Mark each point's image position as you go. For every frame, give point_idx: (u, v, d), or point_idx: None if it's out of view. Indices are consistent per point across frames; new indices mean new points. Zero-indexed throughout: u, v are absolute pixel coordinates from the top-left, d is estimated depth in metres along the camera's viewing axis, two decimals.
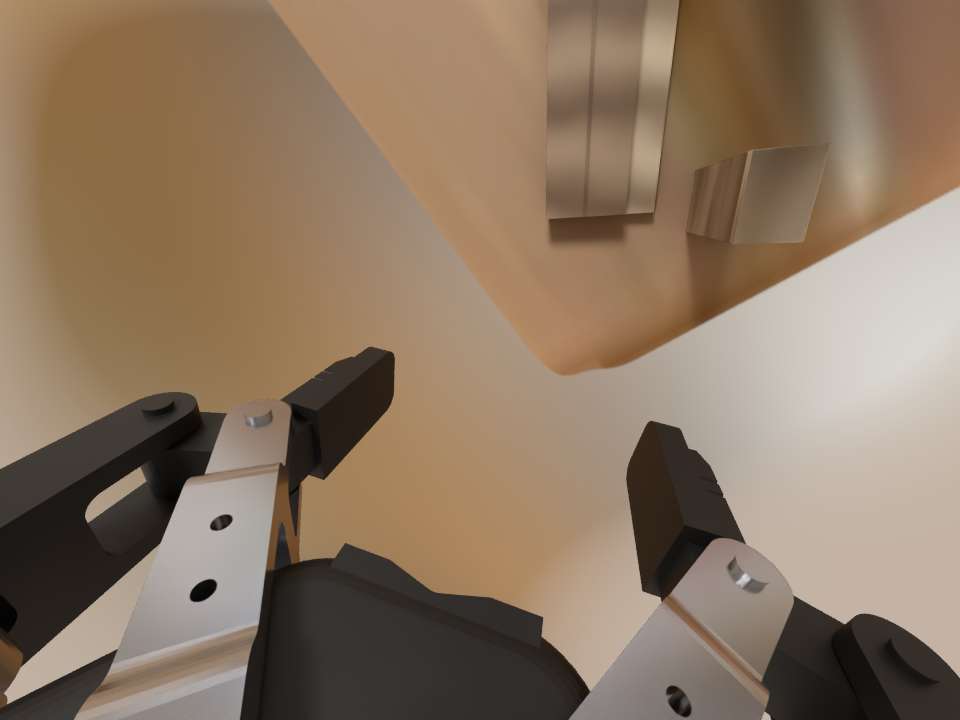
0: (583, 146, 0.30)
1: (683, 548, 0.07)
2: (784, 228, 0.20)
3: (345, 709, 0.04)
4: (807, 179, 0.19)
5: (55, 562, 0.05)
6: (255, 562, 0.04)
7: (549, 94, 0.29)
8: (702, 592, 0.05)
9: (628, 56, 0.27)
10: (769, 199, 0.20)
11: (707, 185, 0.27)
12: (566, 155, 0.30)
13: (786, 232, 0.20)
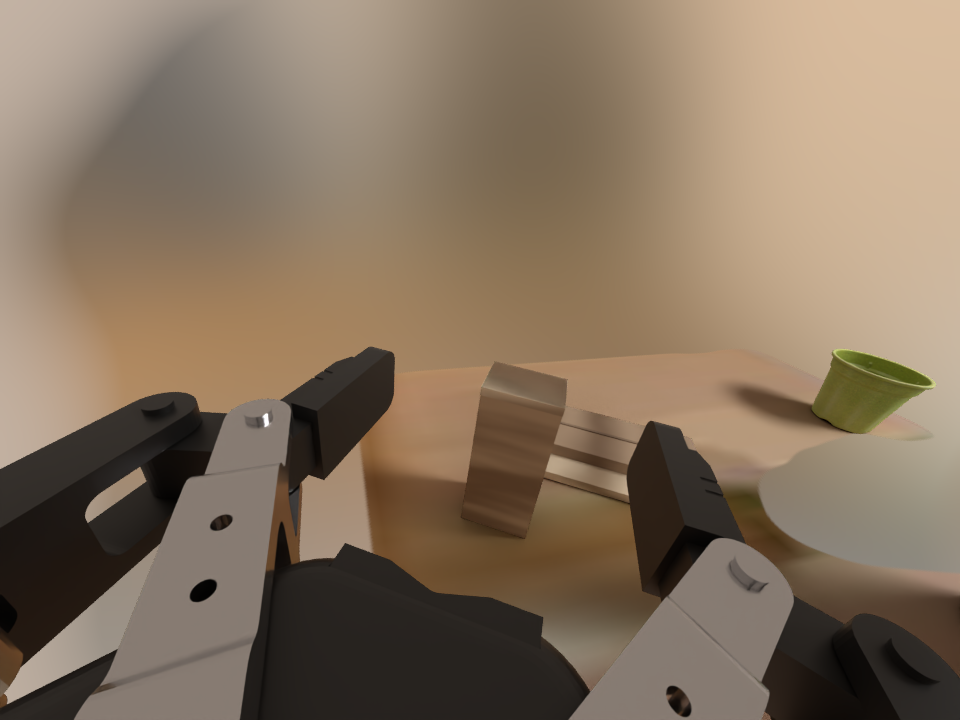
0: (571, 423, 0.35)
1: (683, 548, 0.07)
2: (497, 381, 0.22)
3: (344, 709, 0.04)
4: (536, 395, 0.21)
5: (55, 562, 0.05)
6: (255, 562, 0.04)
7: (610, 417, 0.37)
8: (702, 592, 0.05)
9: None
10: (526, 379, 0.22)
11: None
12: (567, 414, 0.37)
13: (494, 381, 0.22)
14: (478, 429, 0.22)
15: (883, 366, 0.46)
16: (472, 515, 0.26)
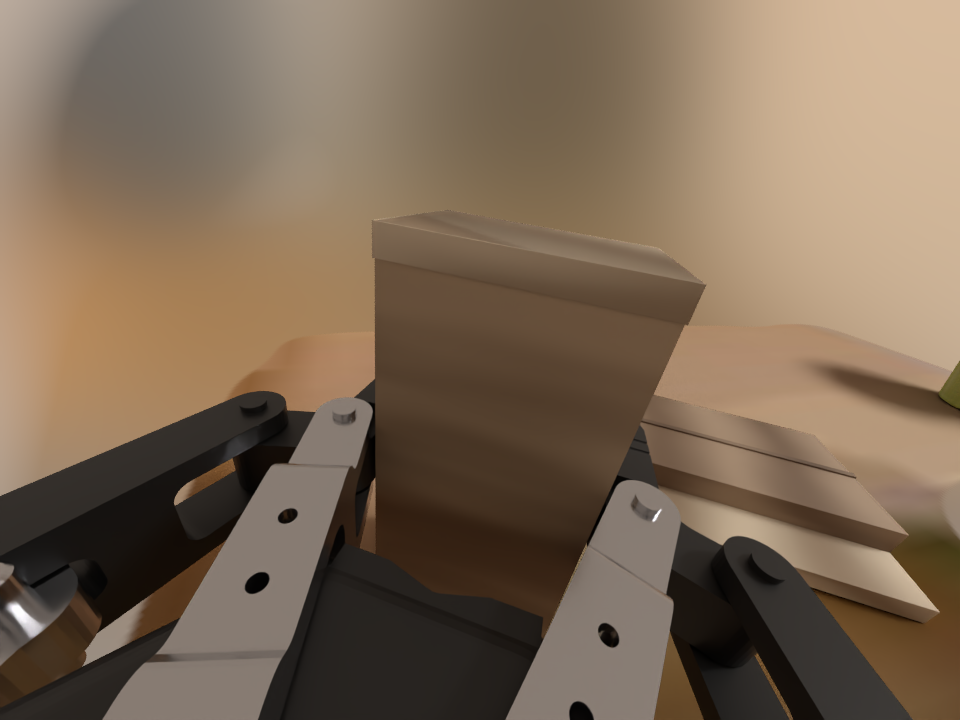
0: None
1: None
2: (441, 223, 0.06)
3: (344, 708, 0.04)
4: (578, 253, 0.06)
5: (144, 539, 0.06)
6: (306, 566, 0.04)
7: (670, 400, 0.22)
8: (615, 532, 0.06)
9: (732, 475, 0.17)
10: (536, 232, 0.07)
11: None
12: None
13: (428, 221, 0.06)
14: (384, 390, 0.07)
15: None
16: None
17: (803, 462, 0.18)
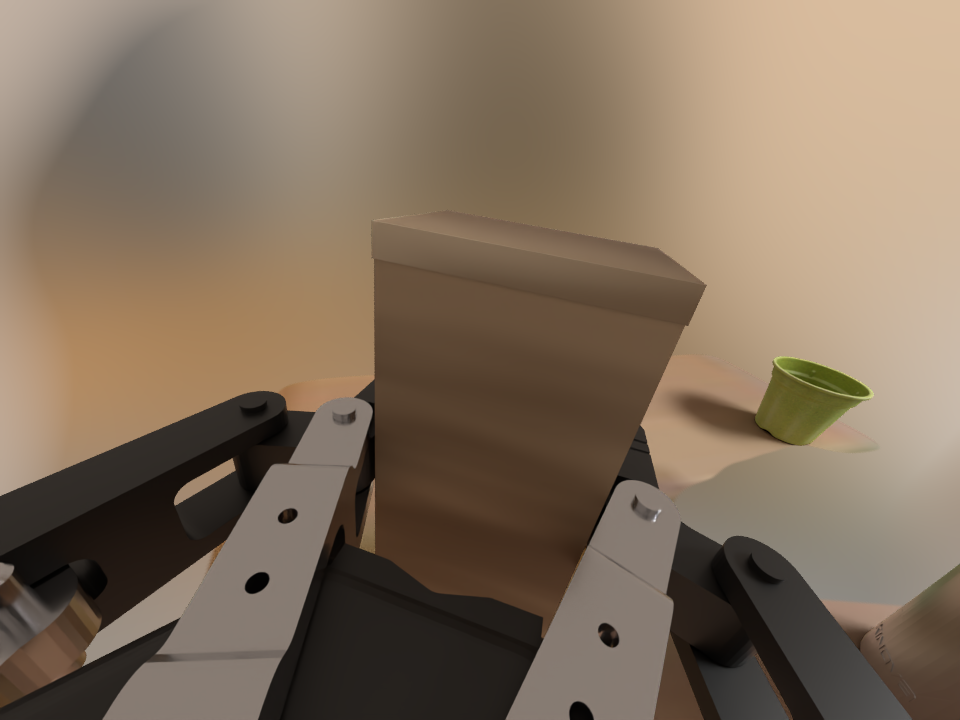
0: None
1: None
2: (441, 223, 0.06)
3: (344, 709, 0.04)
4: (578, 253, 0.06)
5: (144, 539, 0.06)
6: (306, 566, 0.04)
7: None
8: (615, 532, 0.06)
9: None
10: (536, 233, 0.07)
11: None
12: None
13: (428, 222, 0.06)
14: (384, 390, 0.07)
15: (826, 375, 0.44)
16: None
17: None
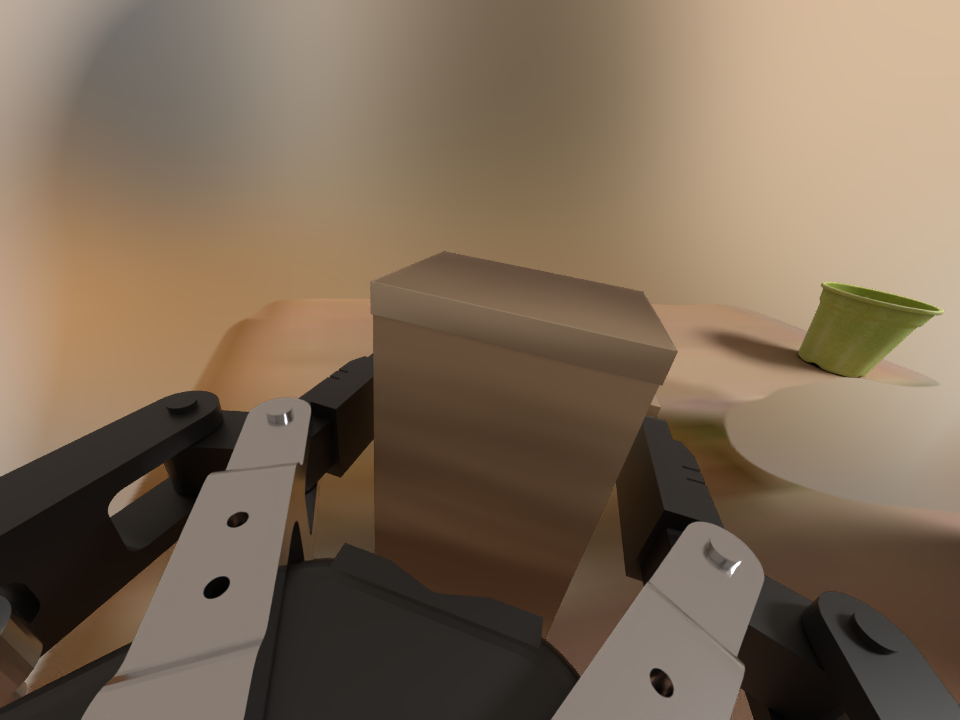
0: None
1: (663, 532, 0.07)
2: (436, 277, 0.07)
3: (345, 707, 0.04)
4: (563, 313, 0.06)
5: (77, 555, 0.05)
6: (268, 562, 0.04)
7: None
8: (680, 575, 0.05)
9: None
10: (526, 281, 0.07)
11: None
12: None
13: (423, 276, 0.07)
14: (382, 429, 0.07)
15: (880, 301, 0.39)
16: None
17: None
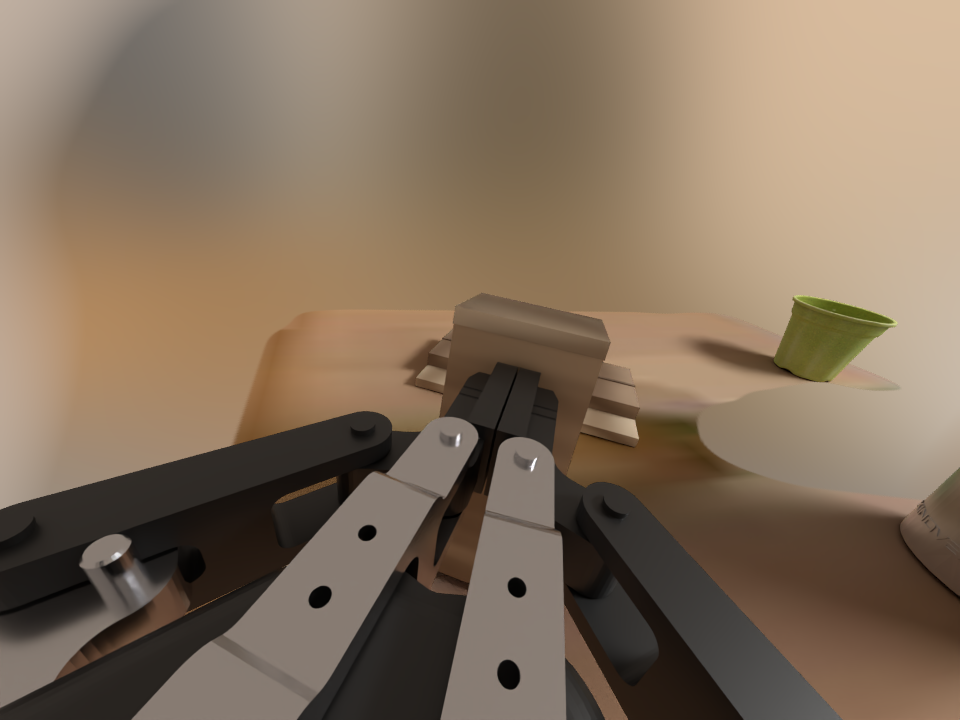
0: None
1: None
2: (485, 306, 0.12)
3: (344, 709, 0.04)
4: (555, 325, 0.11)
5: (240, 538, 0.06)
6: (365, 598, 0.04)
7: None
8: (505, 490, 0.06)
9: None
10: (534, 310, 0.13)
11: None
12: None
13: (479, 305, 0.12)
14: (448, 394, 0.13)
15: (846, 313, 0.44)
16: None
17: (606, 379, 0.31)
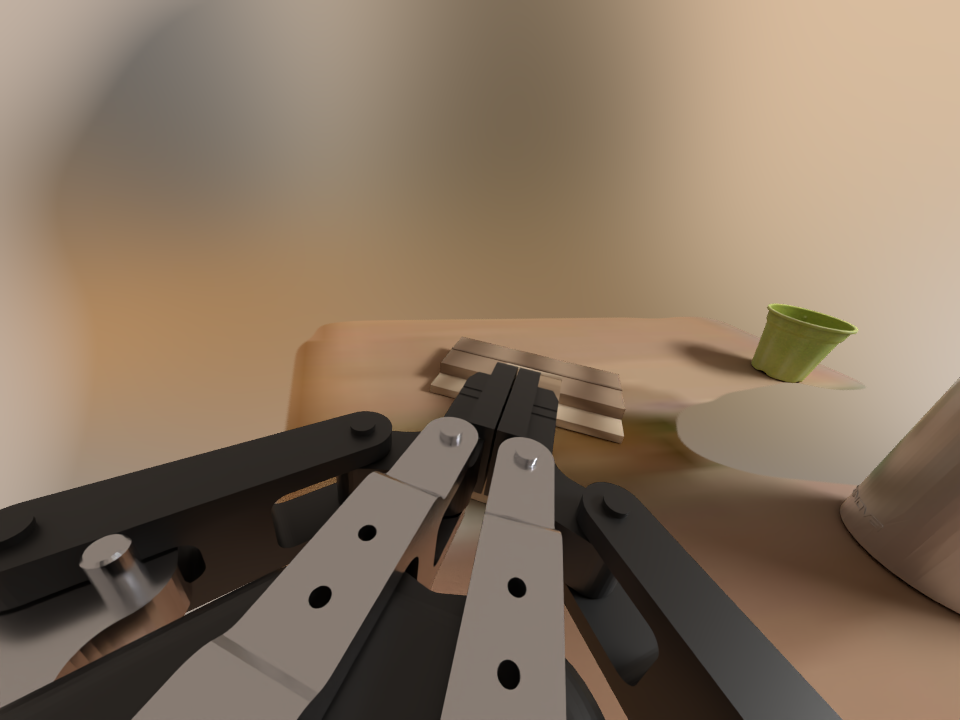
0: (503, 359, 0.37)
1: None
2: None
3: (345, 709, 0.04)
4: None
5: (240, 538, 0.06)
6: (365, 598, 0.04)
7: (543, 356, 0.39)
8: (505, 491, 0.06)
9: None
10: None
11: None
12: (500, 352, 0.38)
13: None
14: None
15: (816, 319, 0.48)
16: None
17: (597, 384, 0.35)
